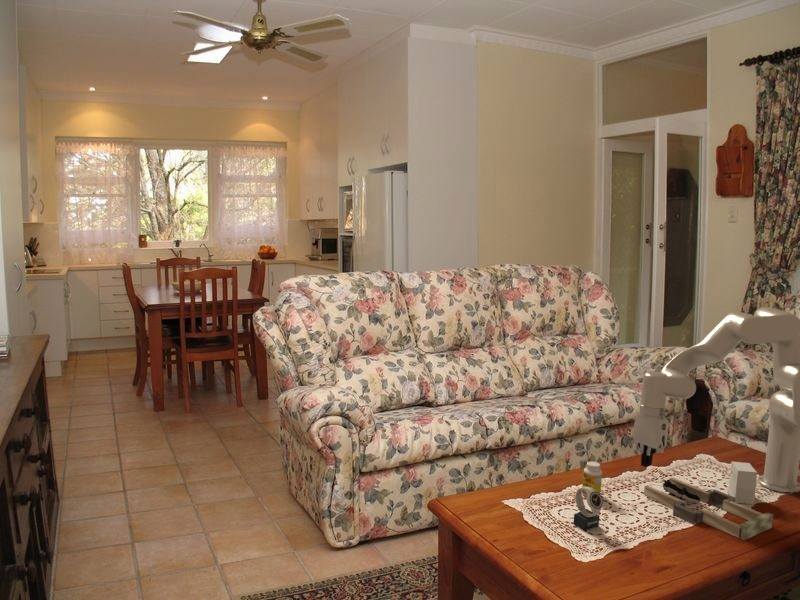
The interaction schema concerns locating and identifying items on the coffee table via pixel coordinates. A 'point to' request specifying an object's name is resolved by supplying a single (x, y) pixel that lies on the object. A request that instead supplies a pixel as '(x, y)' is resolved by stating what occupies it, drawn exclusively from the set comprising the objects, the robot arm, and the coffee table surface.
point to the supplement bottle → (592, 477)
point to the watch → (586, 517)
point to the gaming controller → (680, 492)
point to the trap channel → (743, 531)
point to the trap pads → (716, 504)
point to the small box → (742, 482)
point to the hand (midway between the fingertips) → (645, 465)
